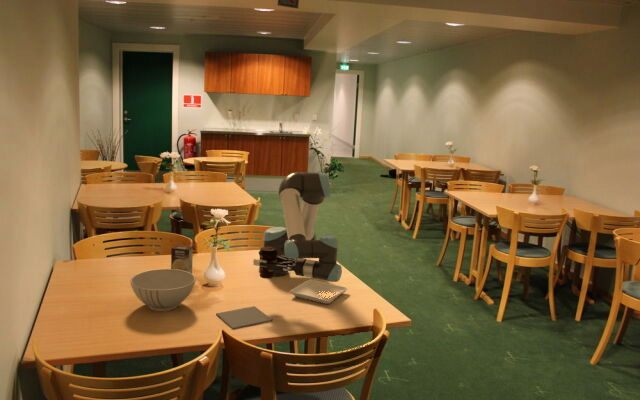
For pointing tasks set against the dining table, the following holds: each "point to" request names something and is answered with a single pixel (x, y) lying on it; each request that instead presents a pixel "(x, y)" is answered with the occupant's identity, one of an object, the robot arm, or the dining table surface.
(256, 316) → the rubber mat
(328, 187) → the robot arm
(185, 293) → the decorative bowl
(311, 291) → the salad plate
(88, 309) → the dining table surface
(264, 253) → the coffee cup
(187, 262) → the coffee box
